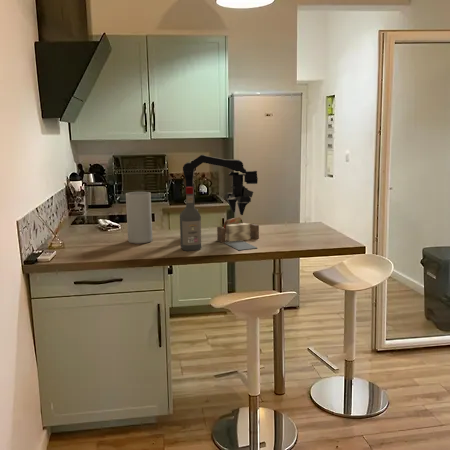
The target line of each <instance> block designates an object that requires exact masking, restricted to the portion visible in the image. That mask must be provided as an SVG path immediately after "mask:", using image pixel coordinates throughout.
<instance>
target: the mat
mask: <svg viewBox="0 0 450 450" xmlns="http://www.w3.org/2000/svg"><path fill="white" fill-rule="evenodd" d="M223 244H225V245H226V246H229V247H230V248H233V249H234V250H236V251H238V252H239V251H249V250H255V249H258V247H257V246H255V245H253V244H251V243H249V242H247V241H244V240H238V241H226V242H223Z"/></svg>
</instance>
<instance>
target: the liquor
mask: <svg viewBox="0 0 450 450" xmlns="http://www.w3.org/2000/svg"><path fill="white" fill-rule="evenodd" d="M193 188H194V186H193V187H186V186H185V195H186V197H185V198H186V199H185V203H186V204H185V208H184V209H183V210H182V211H181V212H180V215H179V232H180V233H179V234H180V236H179V237H180V238H179V239H180V241H179V242H180V248H181V249H182V250H183V251H186V252H193V251H199V250H201V249H202V216H201V214H200V212H199V210H198V211H197V210H196V209H197V208H196V207H195V208H194V205H195V204H194V205H193Z"/></svg>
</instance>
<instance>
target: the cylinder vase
mask: <svg viewBox="0 0 450 450" xmlns="http://www.w3.org/2000/svg"><path fill="white" fill-rule="evenodd" d="M151 195H152V193H151V191H150V192H149V191H130V192H126V193H125V206H126V207H125V208H126V224H127V225H126V226H127V241H128V243H130V244H138V245H139V244H148V243H151V242H152V241H153V223H152V221H153V219H152V200H151V199H152V197H151Z"/></svg>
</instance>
